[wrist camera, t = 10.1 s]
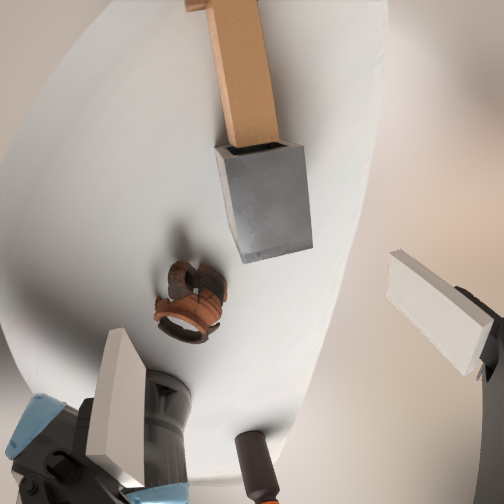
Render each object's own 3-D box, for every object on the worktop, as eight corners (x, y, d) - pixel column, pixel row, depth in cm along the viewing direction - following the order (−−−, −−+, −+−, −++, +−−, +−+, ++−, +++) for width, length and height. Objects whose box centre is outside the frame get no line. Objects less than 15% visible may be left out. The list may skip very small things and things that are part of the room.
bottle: (234, 433, 58) (252, 512, 40) (264, 428, 59) (287, 505, 42) (234, 446, 61) (251, 519, 43) (263, 442, 62) (284, 513, 45)
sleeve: (229, 226, 38) (243, 264, 29) (214, 147, 34) (223, 159, 25) (283, 214, 39) (312, 247, 30) (273, 137, 34) (303, 145, 25)
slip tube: (227, 142, 32) (236, 148, 26) (200, -19, 23) (203, -43, 17) (265, 136, 32) (281, 140, 27) (238, -23, 23) (248, -46, 18)
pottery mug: (238, 301, 44) (224, 351, 38) (181, 297, 47) (162, 342, 41) (216, 239, 36) (192, 295, 30) (149, 240, 39) (121, 288, 33)
